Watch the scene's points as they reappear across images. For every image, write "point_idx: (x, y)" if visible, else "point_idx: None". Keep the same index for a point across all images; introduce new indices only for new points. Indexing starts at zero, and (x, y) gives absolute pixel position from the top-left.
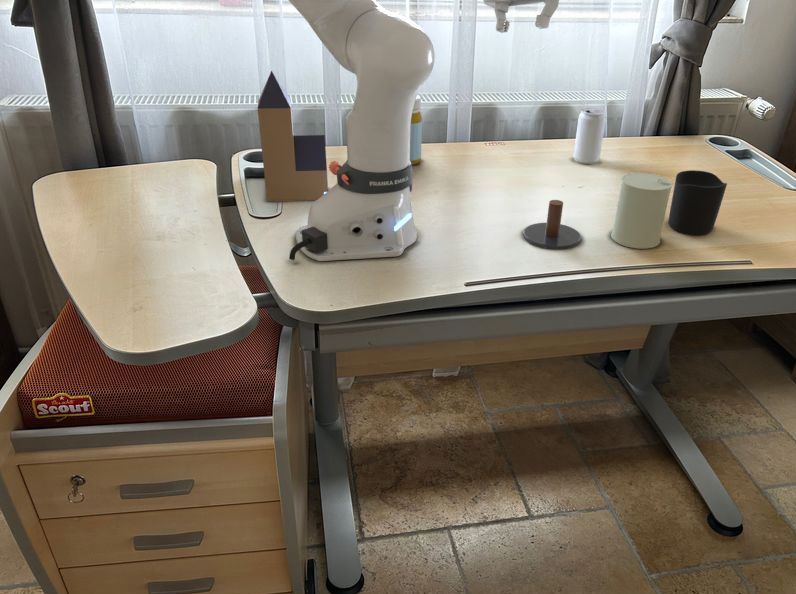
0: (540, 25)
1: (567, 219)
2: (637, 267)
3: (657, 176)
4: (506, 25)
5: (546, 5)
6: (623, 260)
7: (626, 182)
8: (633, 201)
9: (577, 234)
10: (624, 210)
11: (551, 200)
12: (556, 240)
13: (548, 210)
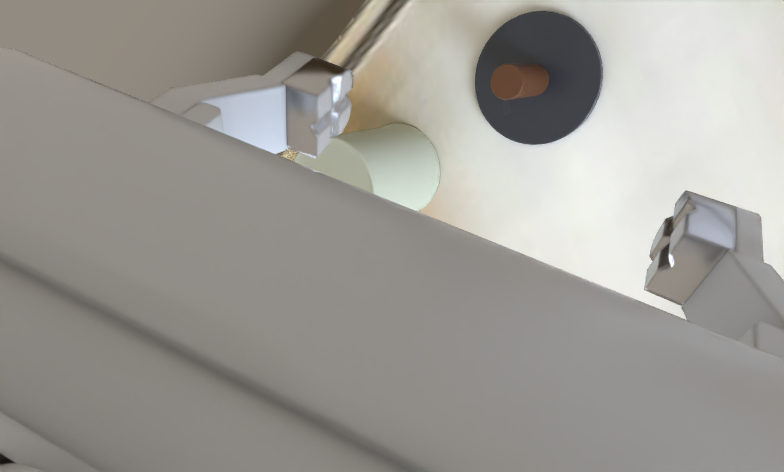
0: (312, 56)
1: (539, 193)
2: (362, 49)
3: None
4: (664, 250)
5: (209, 90)
6: (388, 62)
7: (356, 156)
8: (352, 134)
9: (487, 111)
10: (380, 138)
11: (520, 86)
12: (513, 52)
13: (527, 70)
